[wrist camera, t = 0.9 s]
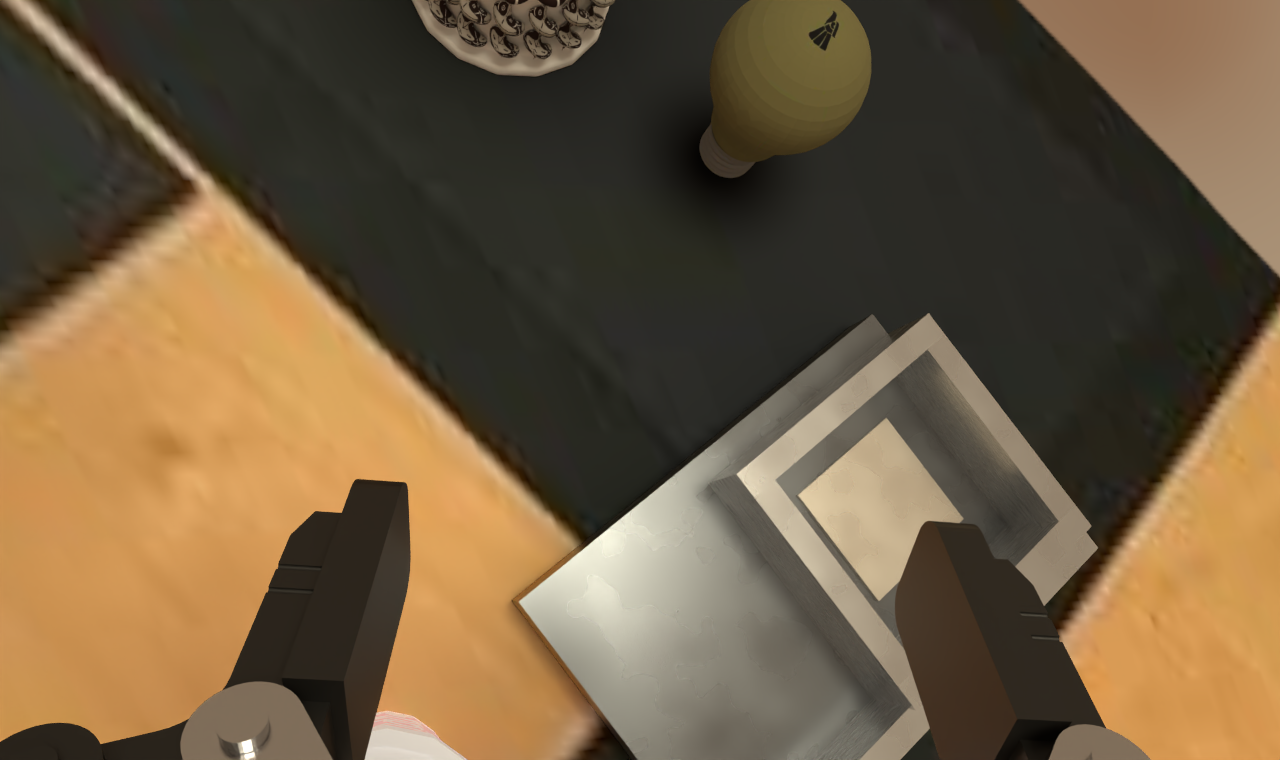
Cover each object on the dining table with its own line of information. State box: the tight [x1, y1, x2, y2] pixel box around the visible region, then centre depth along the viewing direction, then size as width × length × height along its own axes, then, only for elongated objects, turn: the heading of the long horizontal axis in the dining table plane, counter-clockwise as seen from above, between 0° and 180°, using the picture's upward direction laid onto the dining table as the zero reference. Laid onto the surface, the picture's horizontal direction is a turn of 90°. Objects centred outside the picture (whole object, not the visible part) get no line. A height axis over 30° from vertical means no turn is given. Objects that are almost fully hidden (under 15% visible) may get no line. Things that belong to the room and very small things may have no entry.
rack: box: [512, 313, 1098, 760], centre depth 33 cm, size 12×18×5 cm, turn 129°
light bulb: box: [699, 0, 871, 178], centre depth 34 cm, size 6×6×10 cm
